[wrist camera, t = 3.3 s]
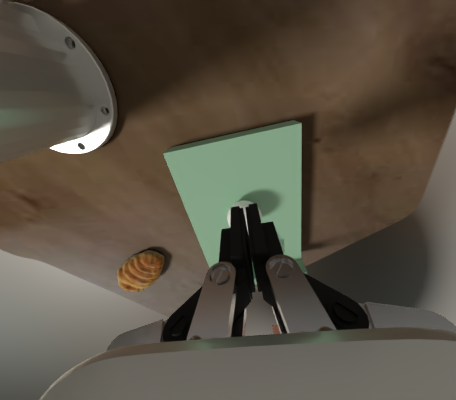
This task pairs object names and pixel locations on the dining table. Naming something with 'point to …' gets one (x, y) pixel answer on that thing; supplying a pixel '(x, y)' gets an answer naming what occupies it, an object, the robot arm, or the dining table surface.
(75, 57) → the robot arm
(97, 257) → the dining table surface
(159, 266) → the pastry
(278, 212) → the mat
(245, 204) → the ball
